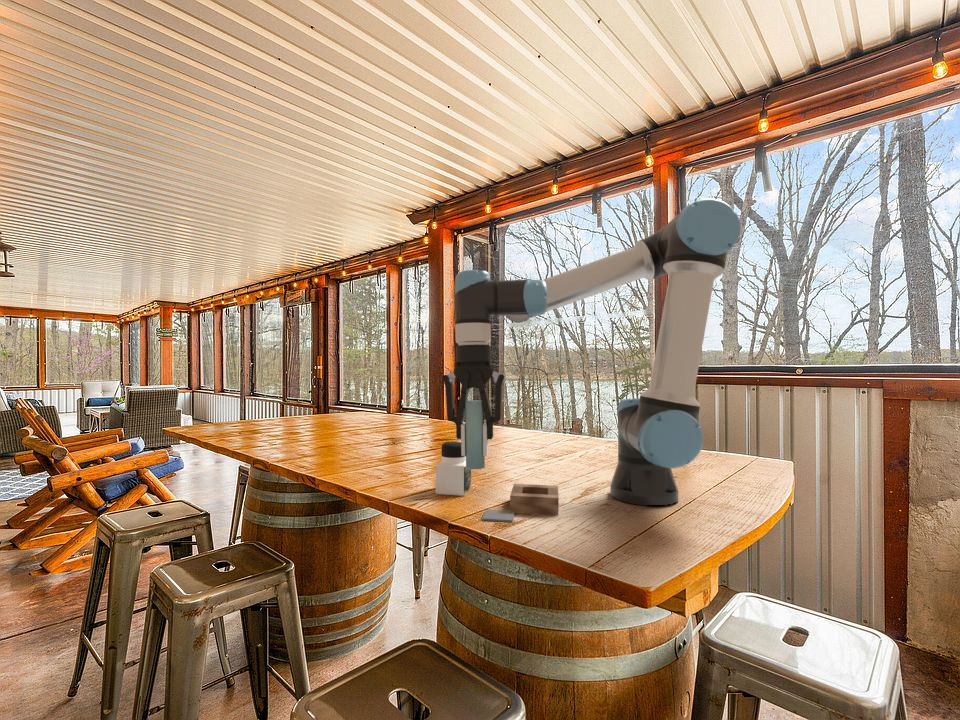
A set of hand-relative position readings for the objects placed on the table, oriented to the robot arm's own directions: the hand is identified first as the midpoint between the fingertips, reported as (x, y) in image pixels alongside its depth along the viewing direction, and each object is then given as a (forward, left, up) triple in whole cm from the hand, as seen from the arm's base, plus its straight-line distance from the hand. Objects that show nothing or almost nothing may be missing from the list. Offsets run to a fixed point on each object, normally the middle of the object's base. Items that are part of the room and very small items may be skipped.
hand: (475, 454), depth 99 cm
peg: (0, 0, -3) cm, 3 cm away
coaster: (-5, +3, -12) cm, 13 cm away
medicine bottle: (+8, -14, -12) cm, 20 cm away
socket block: (-12, -5, -12) cm, 18 cm away
